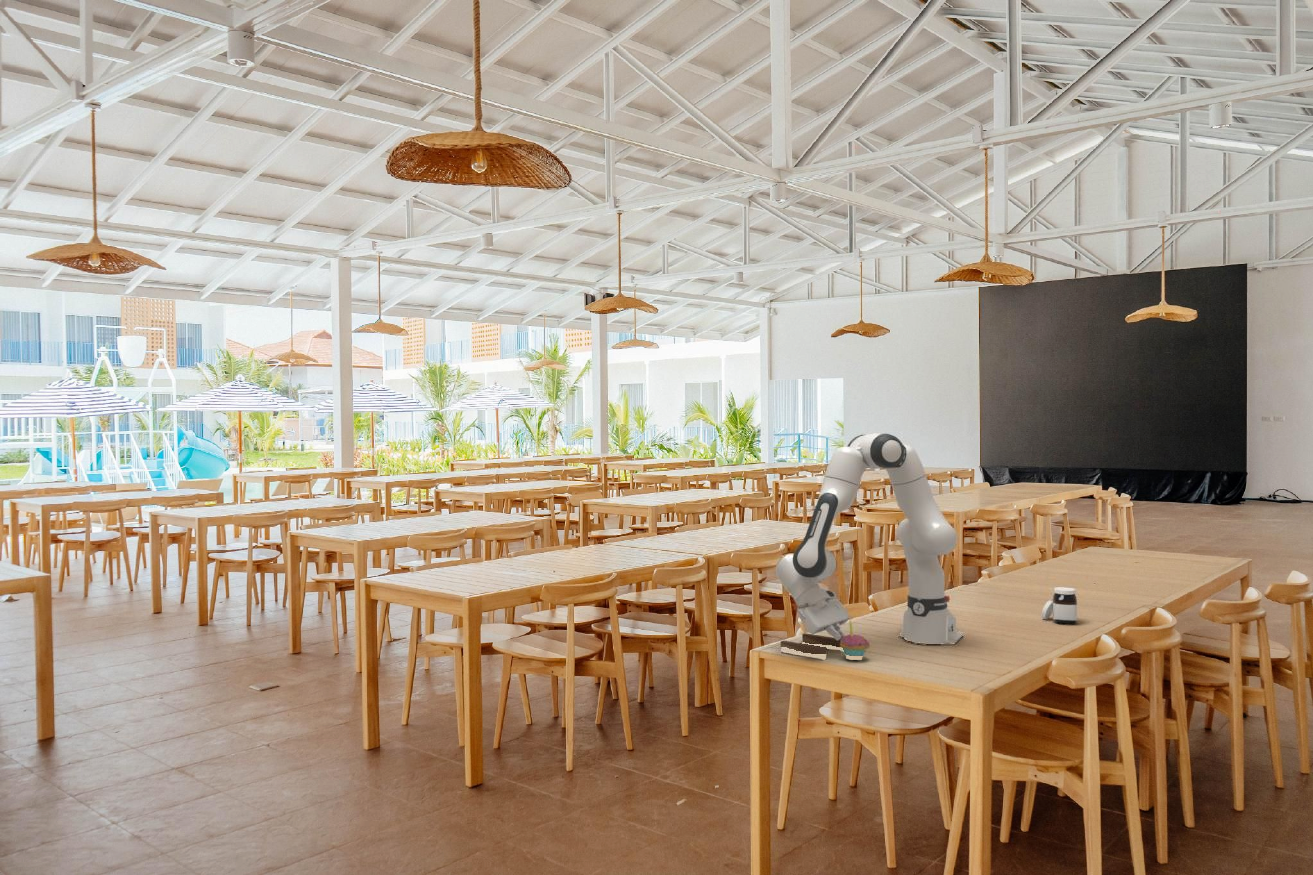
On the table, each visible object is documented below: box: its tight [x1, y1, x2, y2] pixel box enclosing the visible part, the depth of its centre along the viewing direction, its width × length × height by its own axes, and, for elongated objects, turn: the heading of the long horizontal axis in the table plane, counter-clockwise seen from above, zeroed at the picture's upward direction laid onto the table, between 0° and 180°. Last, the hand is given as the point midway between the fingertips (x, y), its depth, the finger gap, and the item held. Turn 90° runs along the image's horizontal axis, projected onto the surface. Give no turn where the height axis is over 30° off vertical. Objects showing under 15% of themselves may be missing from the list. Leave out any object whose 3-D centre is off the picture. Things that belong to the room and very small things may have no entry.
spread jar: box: [1040, 586, 1078, 625], centre depth 335 cm, size 12×11×12 cm
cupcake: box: [840, 619, 870, 657], centre depth 286 cm, size 9×8×12 cm
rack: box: [780, 632, 840, 654], centre depth 296 cm, size 14×15×4 cm
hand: (841, 638), depth 289 cm, fingers closed, pressing on cupcake
